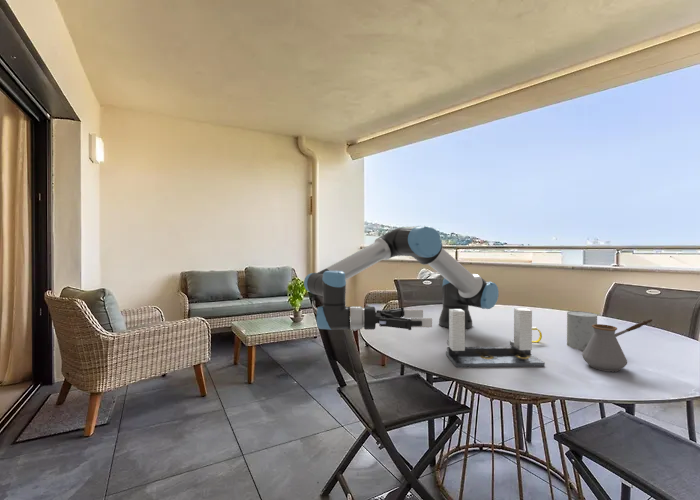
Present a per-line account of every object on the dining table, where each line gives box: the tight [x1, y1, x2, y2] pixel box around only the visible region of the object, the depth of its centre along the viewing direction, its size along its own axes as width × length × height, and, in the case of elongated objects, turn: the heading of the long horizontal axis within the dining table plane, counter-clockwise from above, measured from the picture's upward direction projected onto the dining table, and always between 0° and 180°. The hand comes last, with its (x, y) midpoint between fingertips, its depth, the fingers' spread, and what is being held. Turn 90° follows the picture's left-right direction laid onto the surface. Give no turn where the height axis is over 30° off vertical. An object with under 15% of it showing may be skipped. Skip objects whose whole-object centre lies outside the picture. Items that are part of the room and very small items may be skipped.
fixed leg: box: [509, 307, 533, 355], centre depth 118 cm, size 8×4×15 cm, turn 0°
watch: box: [532, 326, 543, 344], centre depth 136 cm, size 6×3×6 cm, turn 83°
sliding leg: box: [446, 309, 466, 356], centre depth 118 cm, size 8×4×15 cm, turn 0°
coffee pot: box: [582, 318, 657, 373], centre depth 109 cm, size 21×12×15 cm, turn 90°
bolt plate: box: [445, 345, 546, 368], centre depth 117 cm, size 12×28×3 cm, turn 90°
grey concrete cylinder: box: [566, 310, 598, 351], centre depth 130 cm, size 10×10×12 cm
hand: (427, 317), depth 116 cm, fingers open, 13 cm apart
